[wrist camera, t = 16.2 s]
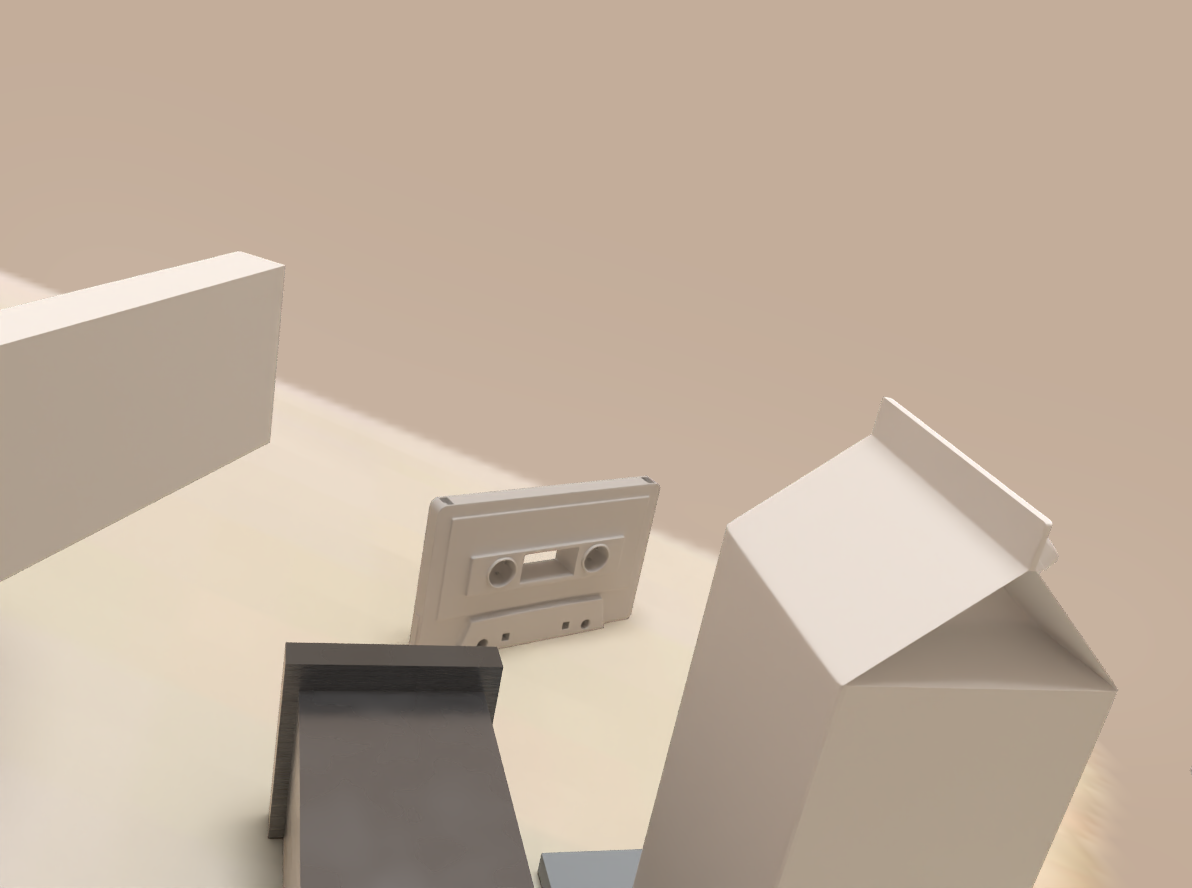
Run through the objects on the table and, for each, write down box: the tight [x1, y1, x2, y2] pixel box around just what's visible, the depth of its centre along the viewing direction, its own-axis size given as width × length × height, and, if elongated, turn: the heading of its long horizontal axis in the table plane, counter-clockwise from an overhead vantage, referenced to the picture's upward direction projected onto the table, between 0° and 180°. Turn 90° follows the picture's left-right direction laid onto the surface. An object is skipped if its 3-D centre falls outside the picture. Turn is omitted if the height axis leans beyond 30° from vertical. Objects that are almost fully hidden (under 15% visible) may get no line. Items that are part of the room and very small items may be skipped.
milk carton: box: [633, 397, 1118, 888], centre depth 28 cm, size 7×7×19 cm
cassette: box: [409, 476, 660, 649], centre depth 50 cm, size 12×2×8 cm, turn 124°
